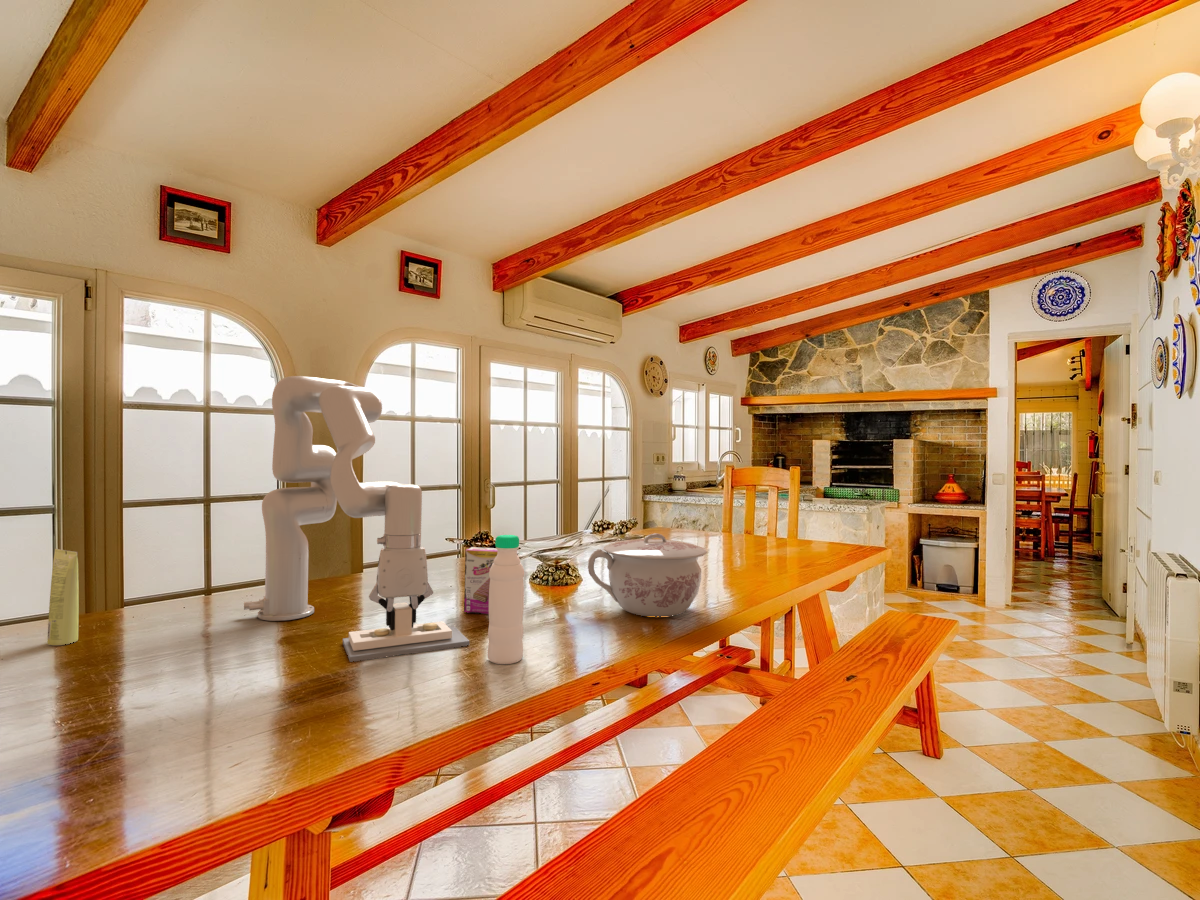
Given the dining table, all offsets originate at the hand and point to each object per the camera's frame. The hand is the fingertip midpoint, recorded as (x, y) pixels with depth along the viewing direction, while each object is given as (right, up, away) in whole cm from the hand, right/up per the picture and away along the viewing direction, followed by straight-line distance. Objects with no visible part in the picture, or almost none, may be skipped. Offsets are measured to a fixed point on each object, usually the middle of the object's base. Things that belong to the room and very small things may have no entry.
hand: (401, 626), depth 133 cm
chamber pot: (+57, -5, +32) cm, 65 cm away
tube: (-70, -3, -3) cm, 70 cm away
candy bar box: (+13, -4, +28) cm, 31 cm away
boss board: (+1, -4, 0) cm, 4 cm away
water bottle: (+24, -5, -8) cm, 25 cm away
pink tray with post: (0, -3, 0) cm, 3 cm away
